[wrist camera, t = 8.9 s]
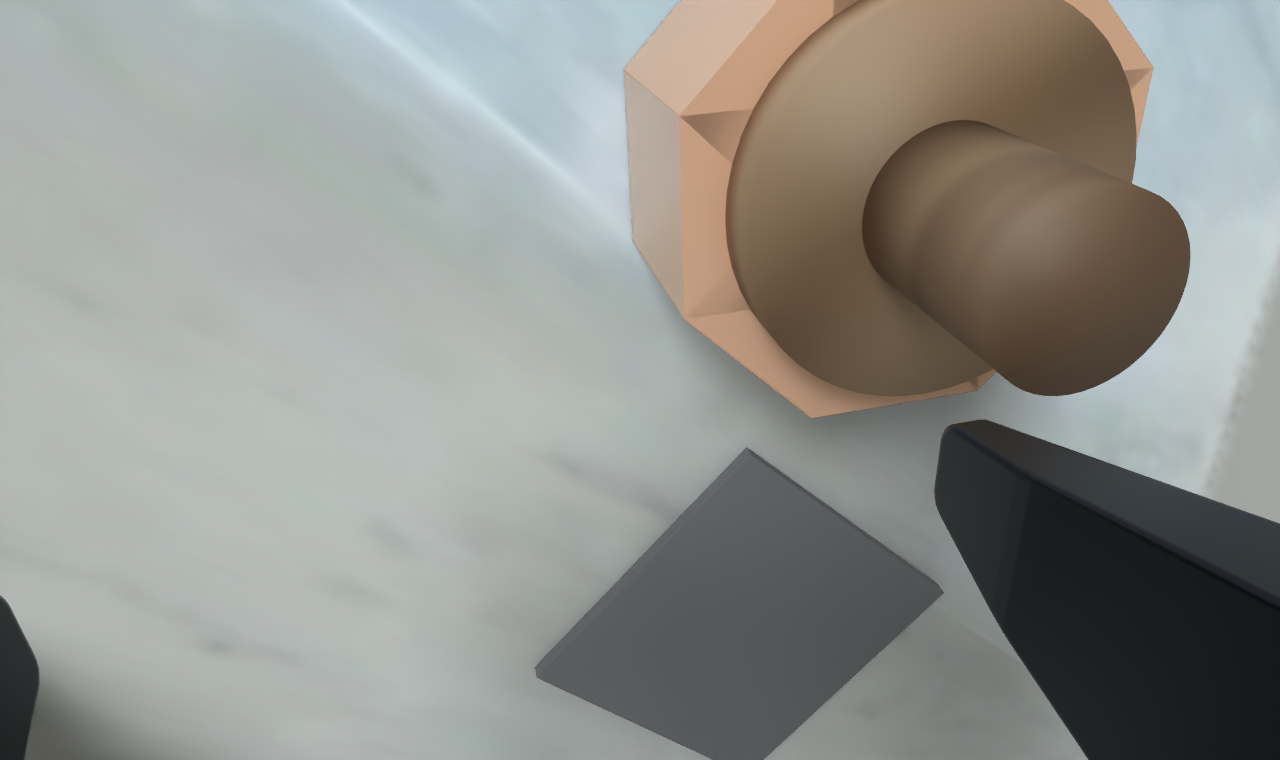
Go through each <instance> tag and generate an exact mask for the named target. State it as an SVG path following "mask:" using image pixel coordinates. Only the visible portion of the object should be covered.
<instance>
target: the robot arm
mask: <svg viewBox="0 0 1280 760" xmlns="http://www.w3.org/2000/svg"><path fill="white" fill-rule="evenodd" d="M934 493H935V501H936V506H937V509H938V511H939V514H940V516H941V518H942V520H943V521H944V523H945V525H946V527H947V529H948V531H949V533H950V535H951V537H952V538H953V540H954V542H955V544H956V546H957V548H958V550H959V552H960V554H961V555H962V557H963V559H964V561H965V563H966V565H967V567H968V569H969V571H970V572H971V574H972V576H973V578H974V580H975V582H976V584H977V586H978V588H979V590H980V591H981V593H982V595H983V597H984V599H985V601H986V603H987V605H988V607H989V608H990V610H991V612H992V614H993V616H994V617H995V619H996V621H997V623H998V624H999V626H1000V628H1001V630H1002V631H1003V633H1004V634H1005V636H1006V637H1007V639H1008V641H1009V642H1010V644H1011V645H1012V647H1013V648H1014V650H1015V651H1016V653H1017V654H1018V656H1019V657H1020V659H1021V660H1022V662H1023V663H1024V665H1025V666H1026V668H1027V669H1028V671H1029V672H1030V674H1031V675H1032V677H1033V678H1034V680H1035V681H1036V683H1037V684H1038V686H1039V687H1040V689H1041V690H1042V691H1043V693H1044V694H1045V696H1046V697H1047V699H1048V700H1049V702H1050V703H1051V705H1052V706H1053V708H1054V709H1055V711H1056V712H1057V714H1058V715H1059V717H1060V718H1061V720H1062V721H1063V723H1064V724H1065V726H1066V727H1067V728H1068V730H1069V731H1070V733H1071V734H1072V736H1073V737H1074V739H1075V740H1076V742H1077V743H1078V745H1079V746H1080V748H1081V749H1082V751H1083V752H1084V754H1085V755H1086V757H1087V758H1088V760H1280V524H1279V523H1276V522H1274V521H1271V520H1268V519H1265V518H1262V517H1260V516H1257V515H1254V514H1251V513H1248V512H1245V511H1242V510H1240V509H1236V508H1234V507H1231V506H1228V505H1226V504H1223V503H1220V502H1217V501H1214V500H1211V499H1209V498H1206V497H1203V496H1200V495H1197V494H1194V493H1192V492H1189V491H1186V490H1183V489H1180V488H1178V487H1175V486H1172V485H1169V484H1166V483H1163V482H1161V481H1158V480H1155V479H1152V478H1149V477H1146V476H1144V475H1141V474H1138V473H1135V472H1132V471H1129V470H1127V469H1124V468H1121V467H1118V466H1115V465H1112V464H1110V463H1107V462H1104V461H1101V460H1098V459H1096V458H1093V457H1090V456H1087V455H1084V454H1081V453H1079V452H1076V451H1073V450H1070V449H1067V448H1064V447H1062V446H1059V445H1056V444H1053V443H1050V442H1047V441H1045V440H1042V439H1039V438H1036V437H1033V436H1030V435H1028V434H1025V433H1022V432H1019V431H1016V430H1014V429H1011V428H1008V427H1005V426H1002V425H999V424H997V423H994V422H991V421H988V420H975V421H970V422H964V423H958V424H953V425H950V426H949V427H947V428H946V429H945V431H944V433H943V434H942V438H941V444H940V451H939V459H938V466H937V473H936V481H935V491H934ZM38 689H39V668H38V664H37V660H36V658H35V655H34V654H33V652H32V650H31V648H30V646H29V644H28V642H27V640H26V638H25V636H24V634H23V632H22V630H21V628H20V626H19V624H18V622H17V620H16V618H15V616H14V614H13V612H12V610H11V608H10V606H9V604H8V603H7V601H6V600H5V599H4V598H3V597H2V596H0V760H25V757H26V752H27V746H28V741H29V736H30V731H31V726H32V720H33V715H34V710H35V705H36V700H37V695H38Z"/></svg>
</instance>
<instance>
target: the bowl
mask: <svg viewBox="0 0 1280 760" xmlns="http://www.w3.org/2000/svg"><path fill="white" fill-rule="evenodd" d="M857 1H859V0H680V2H679V3H678V4H677V5H676V6H675V8H674V9H673V10H672V11H671V13H670V14H669V15H668V16H667V17H666V19H665V20H664V21H663V22H662V24H661V25H660V26H659V27H658V28H657V30H656V31H655V32H654V33H653V35H652V36H651V37H650V38H649V39H648V41H647V42H646V43H645V44H644V45H643V47H642V48H641V49H640V50H639V52H638V53H637V54H636V55H635V56H634V58H633V59H632V60H631V61H630V63H629V64H628V65H627V66H626V67H625V69H624V86H625V105H626V124H627V143H628V163H629V182H630V201H631V221H632V240H633V242H634V244H635V245H636V247H637V249H638V250H639V252H640V253H641V255H642V256H643V258H644V259H645V261H646V262H647V264H648V265H649V267H650V268H651V270H652V271H653V273H654V274H655V276H656V277H657V279H658V280H659V282H660V283H661V285H662V286H663V288H664V289H665V291H666V292H667V294H668V295H669V297H670V299H671V300H672V302H673V303H674V305H675V306H676V308H677V309H678V311H679V312H680V314H681V315H682V317H683V318H684V320H686V321H687V322H688V323H689V324H691V325H692V326H693V327H695V328H696V329H697V330H698V331H700V332H701V333H702V334H704V335H705V336H706V337H707V338H709V339H710V340H711V341H713V342H714V343H715V344H716V345H718V346H719V347H720V348H722V349H723V350H724V351H725V352H727V353H728V354H729V355H731V356H732V357H733V358H734V359H736V360H737V361H738V362H740V363H741V364H742V365H743V366H745V367H746V368H747V369H749V370H750V371H751V372H752V373H754V374H755V375H756V376H758V377H759V378H760V379H762V380H763V381H764V382H765V383H767V384H768V385H769V386H771V387H772V388H773V389H774V390H776V391H777V392H778V393H780V394H781V395H782V396H783V397H785V398H786V399H787V400H789V401H790V402H791V403H792V404H794V405H795V406H796V407H798V408H799V409H800V410H801V411H803V412H804V413H805V414H807V415H808V416H809V417H810V418H816V417H822V416H828V415H834V414H840V413H846V412H852V411H858V410H864V409H870V408H876V407H882V406H888V405H894V404H900V403H906V402H912V401H918V400H924V399H930V398H935V397H941V396H947V395H953V394H959V393H965V392H971V391H977V390H978V389H979V388H980V387H981V386H982V385H983V384H984V383H985V382H986V381H987V380H988V379H989V378H990V377H991V376H992V375H993V374H994V373H995V372H996V370H994V369H993V370H991V371H989V372H987V373H985V374H983V375H980V376H978V377H976V378H974V379H972V380H970V381H967V382H964V383H961V384H958V385H956V386H953V387H950V388H947V389H943V390H939V391H934V392H930V393H925V394H918V395H909V396H875V395H869V394H862V393H856V392H853V391H849V390H846V389H843V388H840V387H836V386H834V385H832V384H830V383H828V382H826V381H823V380H821V379H819V378H817V377H815V376H814V375H813V374H811V373H810V372H808V371H807V370H805V369H804V368H802V367H801V366H799V365H798V364H797V363H796V362H795V361H794V360H793V359H792V358H791V357H790V356H789V355H788V354H786V353H785V352H784V351H783V350H782V349H781V347H780V346H779V345H778V344H777V342H776V341H775V340H774V339H773V338H772V336H771V335H770V334H769V333H768V332H767V330H766V329H765V328H764V327H763V325H762V324H761V323H760V321H759V320H758V319H757V318H756V316H755V315H754V314H753V312H752V311H751V310H750V308H749V306H748V304H747V302H746V300H745V299H744V297H743V295H742V293H741V291H740V289H739V286H738V283H737V281H736V278H735V275H734V272H733V270H732V266H731V261H730V257H729V252H728V247H727V238H726V224H725V212H726V197H727V188H728V183H729V177H730V172H731V167H732V163H733V159H734V156H735V153H736V150H737V147H738V144H739V141H740V137H741V135H742V133H743V130H744V128H745V126H746V124H747V122H748V119H749V117H750V115H751V113H752V111H753V109H754V107H755V105H756V104H757V102H758V100H759V99H760V97H761V95H762V94H763V92H764V90H765V89H766V87H767V85H768V84H769V82H770V81H771V79H772V78H773V77H774V76H775V74H776V73H777V72H778V70H779V69H780V68H781V66H782V65H783V64H784V62H785V61H786V60H787V59H788V57H789V56H790V55H791V54H792V53H793V52H794V51H795V50H796V49H797V48H798V47H799V46H800V45H801V44H802V43H803V42H804V41H805V40H806V39H807V38H808V37H809V36H810V35H811V34H812V33H814V32H815V31H816V30H817V29H818V28H820V27H821V26H822V25H823V24H825V23H826V22H827V21H828V20H830V19H831V18H832V17H833V16H835V15H836V14H838V13H840V12H841V11H843V10H844V9H846V8H847V7H849V6H851V5H852V4H854V3H855V2H857ZM1064 1H1066V2H1067V3H1069V4H1071V5H1073V6H1074V7H1075V8H1076V9H1078V10H1079V11H1080V12H1081V13H1082V14H1084V15H1085V16H1086V17H1087V18H1089V19H1090V20H1091V21H1092V22H1093V23H1094V24H1095V26H1096V27H1097V28H1098V29H1099V30H1100V32H1101V33H1102V34H1103V35H1104V36H1105V37H1106V39H1107V40H1108V42H1109V43H1110V45H1111V47H1112V48H1113V50H1114V52H1115V53H1116V55H1117V57H1118V59H1119V60H1120V62H1121V65H1122V68H1123V70H1124V73H1125V75H1126V78H1127V80H1128V83H1129V87H1130V91H1131V95H1132V100H1133V104H1134V109H1135V121H1136V132H1137V138H1136V146H1137V141H1138V137H1139V132H1140V127H1141V123H1142V118H1143V114H1144V109H1145V104H1146V100H1147V95H1148V91H1149V86H1150V81H1151V77H1152V72H1153V66H1152V64H1151V63H1150V61H1149V60H1148V58H1147V57H1146V56H1145V54H1144V53H1143V51H1142V50H1141V48H1140V47H1139V45H1138V44H1137V42H1136V41H1135V39H1134V38H1133V37H1132V35H1131V34H1130V32H1129V31H1128V29H1127V28H1126V26H1125V25H1124V23H1123V22H1122V20H1121V19H1120V18H1119V16H1118V15H1117V13H1116V12H1115V10H1114V9H1113V7H1112V6H1111V4H1110V3H1109V1H1108V0H1064Z"/></svg>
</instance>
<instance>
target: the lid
mask: <svg viewBox="0 0 1280 760" xmlns="http://www.w3.org/2000/svg"><path fill="white" fill-rule="evenodd" d="M1136 138H1137V132H1136V121H1135V109H1134V104H1133V100H1132V95H1131V91H1130V87H1129V83H1128V80H1127V78H1126V75H1125V73H1124V70H1123V68H1122V65H1121V62H1120V60H1119V59H1118V57H1117V55H1116V53H1115V52H1114V50H1113V48H1112V47H1111V45H1110V43H1109V42H1108V40H1107V39H1106V37H1105V36H1104V35H1103V34H1102V33H1101V32H1100V30H1099V29H1098V28H1097V27H1096V26H1095V24H1094V23H1093V22H1092V21H1091V20H1090V19H1089V18H1087V17H1086V16H1085V15H1084V14H1082V13H1081V12H1080V11H1079V10H1078V9H1076V8H1075V7H1074V6H1073V5H1071V4H1069V3H1067V2H1066V1H1064V0H859V1H857V2H855V3H854V4H852V5H851V6H849V7H847V8H846V9H844V10H843V11H841V12H840V13H838V14H836V15H835V16H833V17H832V18H831V19H830V20H828V21H827V22H826V23H825V24H823V25H822V26H821V27H820V28H818V29H817V30H816V31H815V32H814V33H812V34H811V35H810V36H809V37H808V38H807V39H806V40H805V41H804V42H803V43H802V44H801V45H800V46H799V47H798V48H797V49H796V50H795V51H794V52H793V53H792V54H791V55H790V56H789V57H788V59H787V60H786V61H785V62H784V64H783V65H782V66H781V68H780V69H779V70H778V72H777V73H776V74H775V76H774V77H773V78H772V79H771V81H770V82H769V84H768V85H767V87H766V89H765V90H764V92H763V94H762V95H761V97H760V99H759V100H758V102H757V104H756V105H755V107H754V109H753V111H752V113H751V115H750V117H749V119H748V122H747V124H746V126H745V128H744V130H743V133H742V135H741V137H740V141H739V144H738V147H737V150H736V153H735V156H734V159H733V163H732V167H731V172H730V177H729V183H728V188H727V197H726V212H725V224H726V238H727V247H728V252H729V257H730V261H731V266H732V270H733V272H734V275H735V278H736V281H737V283H738V286H739V289H740V291H741V293H742V295H743V297H744V299H745V300H746V302H747V304H748V306H749V308H750V310H751V311H752V312H753V314H754V315H755V316H756V318H757V319H758V320H759V321H760V323H761V324H762V325H763V327H764V328H765V329H766V330H767V332H768V333H769V334H770V335H771V336H772V338H773V339H774V340H775V341H776V342H777V344H778V345H779V346H780V347H781V349H782V350H783V351H784V352H785V353H786V354H788V355H789V356H790V357H791V358H792V359H793V360H794V361H795V362H796V363H797V364H798V365H799V366H801V367H802V368H804V369H805V370H807V371H808V372H810V373H811V374H813V375H814V376H815V377H817V378H819V379H821V380H823V381H826V382H828V383H830V384H832V385H834V386H836V387H840V388H843V389H846V390H849V391H853V392H856V393H862V394H869V395H875V396H909V395H918V394H925V393H930V392H934V391H939V390H943V389H947V388H950V387H953V386H956V385H958V384H961V383H964V382H967V381H970V380H972V379H974V378H976V377H978V376H980V375H983V374H985V373H987V372H989V371H991V370H993V369H994V370H996V371H997V372H998V373H999V374H1000V375H1002V376H1003V377H1004V378H1005V379H1007V380H1008V381H1009V382H1010V383H1012V384H1013V385H1014V386H1016V387H1018V388H1020V389H1022V390H1024V391H1027V392H1030V393H1033V394H1038V395H1044V396H1061V395H1069V394H1074V393H1078V392H1082V391H1085V390H1087V389H1090V388H1093V387H1095V386H1098V385H1100V384H1102V383H1104V382H1106V381H1108V380H1110V379H1111V378H1113V377H1115V376H1116V375H1118V374H1119V373H1121V372H1122V371H1124V370H1125V369H1126V368H1128V367H1129V366H1130V365H1132V364H1133V363H1134V362H1135V361H1136V360H1137V359H1139V358H1140V357H1141V356H1142V355H1143V354H1144V353H1145V352H1146V351H1147V350H1148V349H1149V348H1150V347H1151V346H1152V345H1153V343H1154V342H1155V341H1156V340H1157V338H1158V337H1159V336H1160V335H1161V333H1162V332H1163V331H1164V329H1165V328H1166V326H1167V325H1168V323H1169V322H1170V320H1171V318H1172V316H1173V314H1174V313H1175V311H1176V309H1177V307H1178V305H1179V302H1180V300H1181V298H1182V295H1183V292H1184V289H1185V286H1186V283H1187V278H1188V273H1189V267H1190V243H1189V238H1188V233H1187V230H1186V227H1185V225H1184V222H1183V220H1182V219H1181V217H1180V215H1179V214H1178V212H1177V211H1176V210H1175V209H1174V207H1173V206H1172V205H1171V204H1170V203H1169V202H1167V201H1166V200H1165V199H1163V198H1162V197H1161V196H1159V195H1157V194H1155V193H1152V192H1150V191H1148V190H1146V189H1143V188H1141V187H1138V186H1136V185H1134V184H1132V179H1133V173H1134V167H1135V161H1136Z"/></svg>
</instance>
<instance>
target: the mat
mask: <svg viewBox="0 0 1280 760" xmlns="http://www.w3.org/2000/svg"><path fill="white" fill-rule="evenodd" d="M943 593H944V592H943V591H942V589H941V588H940V587H939V586H938V584H937V583H935V582H934V581H932V580H931V579H930V578H928V577H927V576H925V575H924V574H923V573H921V572H920V571H918V570H917V569H916V568H914V567H913V566H911V565H910V564H909V563H907V562H906V561H904V560H903V559H902V558H900V557H899V556H897V555H896V554H895V553H893V552H892V551H891V550H889V549H888V548H886V547H885V546H884V545H882V544H881V543H879V542H878V541H877V540H875V539H874V538H872V537H871V536H870V535H868V534H867V533H865V532H864V531H863V530H861V529H860V528H858V527H857V526H856V525H854V524H853V523H851V522H850V521H849V520H847V519H846V518H844V517H843V516H842V515H840V514H839V513H837V512H836V511H835V510H833V509H832V508H830V507H829V506H828V505H826V504H825V503H823V502H822V501H821V500H819V499H818V498H816V497H815V496H814V495H812V494H811V493H810V492H808V491H807V490H805V489H804V488H803V487H801V486H800V485H798V484H797V483H796V482H794V481H793V480H791V479H790V478H789V477H787V476H786V475H784V474H783V473H782V472H780V471H779V470H777V469H776V468H775V467H773V466H772V465H770V464H769V463H768V462H766V461H765V460H763V459H762V458H761V457H759V456H758V455H756V454H755V453H754V452H752V451H751V450H749V449H748V448H746V449H745V450H744V451H743V452H742V453H741V454H740V455H739V456H738V457H737V458H736V459H735V460H734V461H733V462H732V463H731V464H730V466H729V467H728V468H727V469H726V470H725V471H724V472H723V473H722V474H721V475H720V476H719V477H718V478H717V479H716V480H715V481H714V482H713V483H712V484H711V485H710V486H709V487H708V488H707V489H706V490H705V491H704V493H703V494H702V495H701V496H700V497H699V498H698V499H697V500H696V501H695V502H694V503H693V504H692V505H691V506H690V507H689V508H688V509H687V510H686V511H685V512H684V513H683V514H682V515H681V516H680V517H679V518H678V520H677V521H676V522H675V523H674V524H673V525H672V526H671V527H670V528H669V529H668V530H667V531H666V532H665V533H664V534H663V535H662V536H661V537H660V538H659V539H658V540H657V541H656V542H655V543H654V544H653V545H652V547H651V548H650V549H649V550H648V551H647V552H646V553H645V554H644V555H643V556H642V557H641V558H640V559H639V560H638V561H637V562H636V563H635V564H634V565H633V566H632V567H631V568H630V569H629V570H628V571H627V573H626V574H625V575H624V576H623V577H622V578H621V579H620V580H619V581H618V582H617V583H616V584H615V585H614V586H613V587H612V588H611V589H610V590H609V591H608V592H607V593H606V594H605V595H604V596H603V597H602V598H601V600H600V601H599V602H598V603H597V604H596V605H595V606H594V607H593V608H592V609H591V610H590V611H589V612H588V613H587V614H586V615H585V616H584V617H583V618H582V619H581V620H580V621H579V622H578V623H577V624H576V625H575V627H574V628H573V629H572V630H571V631H570V632H569V633H568V634H567V635H566V636H565V637H564V638H563V639H562V640H561V641H560V642H559V643H558V644H557V645H556V646H555V647H554V648H553V649H552V650H551V651H550V652H549V654H548V655H547V656H546V657H545V658H544V659H543V660H542V661H541V662H540V663H539V664H538V665H537V666H536V667H535V669H536V675H537V678H539V679H541V680H543V681H545V682H547V683H550V684H552V685H554V686H556V687H558V688H560V689H562V690H565V691H567V692H569V693H571V694H573V695H575V696H578V697H580V698H582V699H584V700H586V701H588V702H590V703H593V704H595V705H597V706H599V707H601V708H603V709H605V710H608V711H610V712H612V713H614V714H616V715H618V716H621V717H623V718H625V719H627V720H629V721H631V722H633V723H636V724H638V725H640V726H642V727H644V728H646V729H648V730H651V731H653V732H655V733H657V734H659V735H661V736H663V737H666V738H668V739H670V740H672V741H674V742H676V743H679V744H681V745H683V746H685V747H687V748H689V749H691V750H694V751H696V752H698V753H700V754H702V755H704V756H706V757H709V758H711V759H713V760H763V759H764V758H766V757H767V756H768V755H769V754H770V753H771V752H772V751H773V750H774V749H775V748H776V747H777V746H779V745H780V744H781V743H782V742H783V741H784V740H785V739H786V738H787V737H788V736H789V735H790V734H792V733H793V732H794V731H795V730H796V729H797V728H798V727H799V726H800V725H801V724H802V723H803V722H804V721H806V720H807V719H808V718H809V717H810V716H811V715H812V714H813V713H814V712H815V711H816V710H817V709H819V708H820V707H821V706H822V705H823V704H824V703H825V702H826V701H827V700H828V699H829V698H830V697H831V696H833V695H834V694H835V693H836V692H837V691H838V690H839V689H840V688H841V687H842V686H843V685H844V684H846V683H847V682H848V681H849V680H850V679H851V678H852V677H853V676H854V675H855V674H856V673H857V672H858V671H860V670H861V669H862V668H863V667H864V666H865V665H866V664H867V663H868V662H869V661H870V660H871V659H873V658H874V657H875V656H876V655H877V654H878V653H879V652H880V651H881V650H882V649H883V648H884V647H885V646H887V645H888V644H889V643H890V642H891V641H892V640H893V639H894V638H895V637H896V636H897V635H898V634H900V633H901V632H902V631H903V630H904V629H905V628H906V627H907V626H908V625H909V624H910V623H911V622H913V621H914V620H915V619H916V618H917V617H918V616H919V615H920V614H921V613H922V612H923V611H924V610H925V609H927V608H928V607H929V606H930V605H931V604H932V603H933V602H934V601H935V600H936V599H937V598H938V597H940V596H941V595H942V594H943Z"/></svg>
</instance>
